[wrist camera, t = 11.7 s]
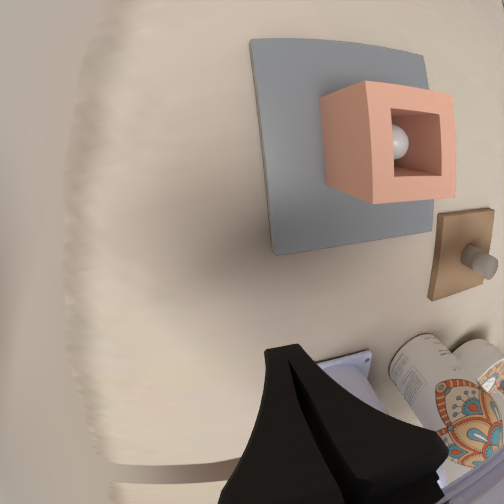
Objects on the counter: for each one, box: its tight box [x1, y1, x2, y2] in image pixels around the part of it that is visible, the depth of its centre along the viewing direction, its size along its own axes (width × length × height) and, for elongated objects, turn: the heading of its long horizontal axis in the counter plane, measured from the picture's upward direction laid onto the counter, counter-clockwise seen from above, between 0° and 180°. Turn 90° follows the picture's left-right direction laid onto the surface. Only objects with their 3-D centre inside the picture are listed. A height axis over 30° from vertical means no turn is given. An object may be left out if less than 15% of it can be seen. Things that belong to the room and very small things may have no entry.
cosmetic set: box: [390, 334, 504, 468], centre depth 20 cm, size 25×9×19 cm, turn 70°
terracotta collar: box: [319, 81, 456, 204], centre depth 14 cm, size 6×6×6 cm
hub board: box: [249, 38, 434, 256], centre depth 15 cm, size 14×13×6 cm
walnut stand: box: [428, 208, 498, 301], centre depth 20 cm, size 8×8×4 cm
